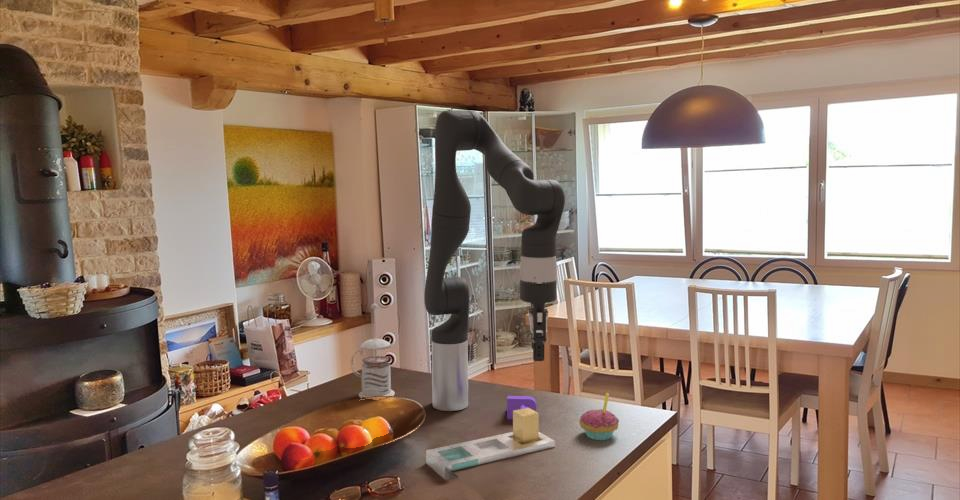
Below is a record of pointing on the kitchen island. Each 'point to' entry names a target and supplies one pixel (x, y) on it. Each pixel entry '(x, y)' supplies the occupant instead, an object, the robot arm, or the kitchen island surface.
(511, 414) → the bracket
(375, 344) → the french press
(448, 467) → the white compartment tray
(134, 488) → the kitchen island surface
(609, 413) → the cupcake
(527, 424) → the brass block
